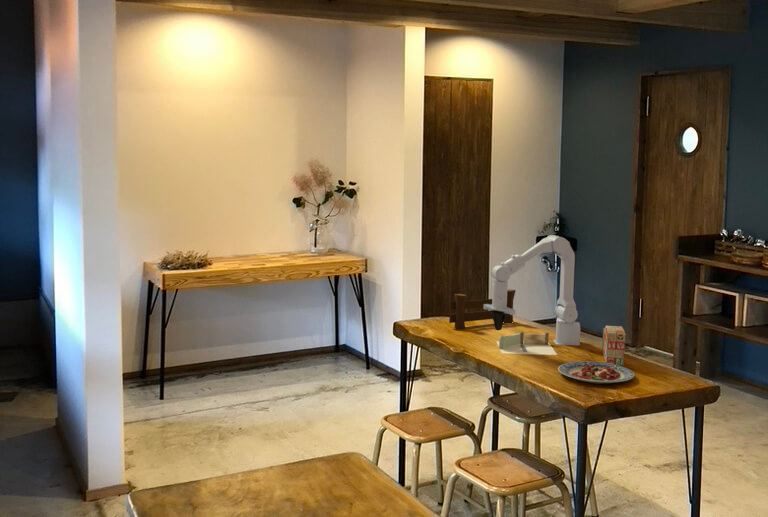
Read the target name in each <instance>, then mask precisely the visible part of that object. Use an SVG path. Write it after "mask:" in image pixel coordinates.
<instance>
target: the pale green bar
mask: <svg viewBox="0 0 768 517" xmlns="http://www.w3.org/2000/svg"><path fill="white" fill-rule="evenodd" d="M520 338H521V334H519V332H518V333H515V334H510V335H506V336H504V335H499V340H498V341H499V346H498V348H499V349H500V348H505V347H509V346H513V345H517V344H520Z"/></svg>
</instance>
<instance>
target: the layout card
mask: <svg viewBox="0 0 768 517" xmlns="http://www.w3.org/2000/svg"><path fill="white" fill-rule="evenodd" d="M495 342H496V344H497V346H498V347H499V340H496V341H495ZM499 350H500V353H501V355H502V354H509V355H543V356H545V355H547V356H549V355H550V356H558V353H557V352H556V351H555V349H554V348H553V347H552V345H551V344H550V342H549V341H548V345H545V344H524V341H523V344H517V345H513V346H509V347H505V348H499Z"/></svg>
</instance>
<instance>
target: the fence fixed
mask: <svg viewBox="0 0 768 517" xmlns="http://www.w3.org/2000/svg"><path fill="white" fill-rule="evenodd" d="M518 333H519V334H521V338H520V344H523V342H524V344H545V345H548V342H549V336H550V335H549V332H544V333H525V332H523V331H519V332H518Z"/></svg>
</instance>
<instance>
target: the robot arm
mask: <svg viewBox="0 0 768 517" xmlns="http://www.w3.org/2000/svg"><path fill="white" fill-rule="evenodd" d="M542 253H554V254H555V255H557V256H558V257H559V258H560V276H559V279H560V280H559V281H560V283H559V298H557V301H556V306H555V308H554V315H555V317H556V324H555V325H556V326H555V339H552V340H553V342H554V344H555V345H557V346H558V345H560V346H581V344H580V342H581V323H580V322H579V321H576V320H577V319H578V315H579V313H578V310H577V304H576V302H575V300H574V284H575V282H574V281H575V262H576V261H575V260H576V259H575V258H576V254H575V251H574V250H573V248H572V246H571V243H570V241H568V239H566V238H564V237H561V236H558V235H555V234H549V235H547V237H544V238H542V239H541V240H540V241H539V242H537V243H535V245H533V246H532V247H530V248H529V249H528V250H526V251H525V252H523V253H522V254H511V256H510V258H509V259H507V260H505V261H502V262H500V264H501V265H499V264H498V265H495V266H494V267H493V269H492V271H491V273H490V274H491V277H492V279H493V280H492V295H491V296H492V298H491V299H492V305H490V304H484V307H483V310H484V311H489V310H492V312H491V313H490V315H491V316H492V318H493V319H492V321H493V325H494V328H495V331H501V330H502V328H503V324H504V323H503V322H504V320H505V318H506V316H507V315H508V314H510V315H513V316H515V315H516V309H515V308H513V309H511V308H508V307H507V290H508V284H509V282H508V281H509V279H510V278H511V276H512V275H514V274H515V273H517V272H518V271H520V270H522V269H523V268H525V267H526V264H527V262H528V261H531V260H532V259H534V258H535V257H537V256H539V255H540V254H542Z"/></svg>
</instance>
